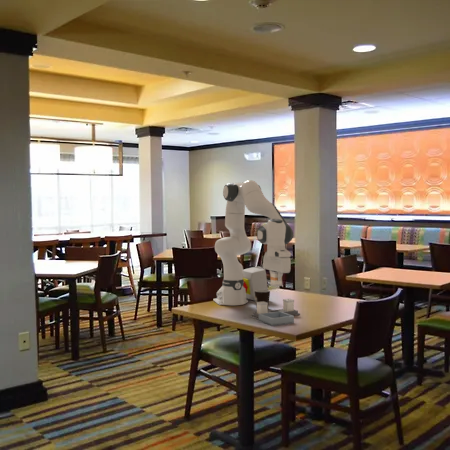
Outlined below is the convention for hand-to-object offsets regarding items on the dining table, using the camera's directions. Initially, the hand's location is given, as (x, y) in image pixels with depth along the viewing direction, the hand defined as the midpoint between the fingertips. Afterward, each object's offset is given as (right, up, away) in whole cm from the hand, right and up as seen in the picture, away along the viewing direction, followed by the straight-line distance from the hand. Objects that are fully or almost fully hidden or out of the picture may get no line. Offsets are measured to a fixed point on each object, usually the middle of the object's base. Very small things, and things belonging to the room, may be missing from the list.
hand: (276, 280), depth 261 cm
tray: (0, -21, +1) cm, 21 cm away
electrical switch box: (-9, -18, +61) cm, 64 cm away
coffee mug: (-4, -19, +34) cm, 40 cm away
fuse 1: (-6, -20, +11) cm, 23 cm away
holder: (+1, -20, +15) cm, 25 cm away
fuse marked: (0, -3, 0) cm, 3 cm away
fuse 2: (+8, -19, +18) cm, 28 cm away
